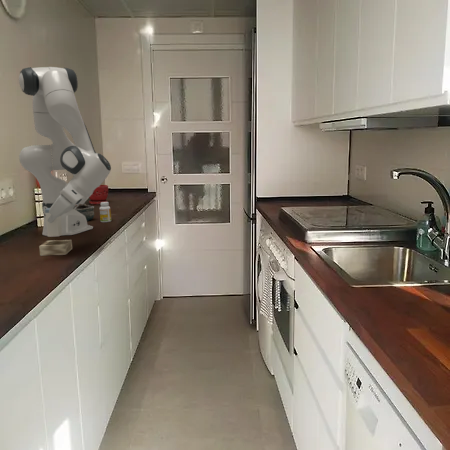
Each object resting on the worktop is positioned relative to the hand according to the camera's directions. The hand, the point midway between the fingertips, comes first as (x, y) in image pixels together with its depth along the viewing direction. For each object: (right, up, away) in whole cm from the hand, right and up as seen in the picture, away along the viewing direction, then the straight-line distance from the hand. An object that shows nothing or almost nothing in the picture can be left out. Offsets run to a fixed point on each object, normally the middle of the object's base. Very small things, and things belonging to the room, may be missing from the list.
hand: (51, 220), depth 165 cm
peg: (+1, -6, +1) cm, 6 cm away
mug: (-10, +1, +69) cm, 70 cm away
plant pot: (-19, +12, +130) cm, 132 cm away
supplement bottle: (+3, 0, +63) cm, 63 cm away
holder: (+1, -12, +2) cm, 12 cm away
